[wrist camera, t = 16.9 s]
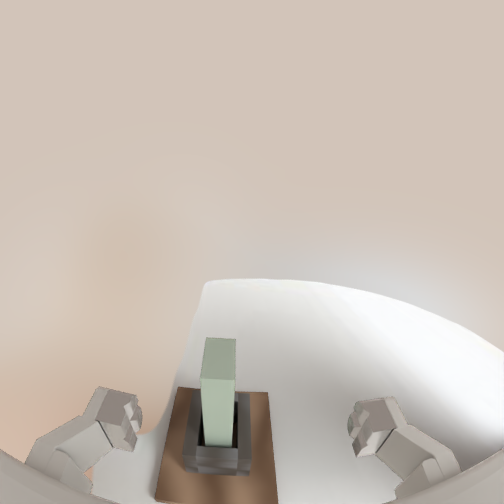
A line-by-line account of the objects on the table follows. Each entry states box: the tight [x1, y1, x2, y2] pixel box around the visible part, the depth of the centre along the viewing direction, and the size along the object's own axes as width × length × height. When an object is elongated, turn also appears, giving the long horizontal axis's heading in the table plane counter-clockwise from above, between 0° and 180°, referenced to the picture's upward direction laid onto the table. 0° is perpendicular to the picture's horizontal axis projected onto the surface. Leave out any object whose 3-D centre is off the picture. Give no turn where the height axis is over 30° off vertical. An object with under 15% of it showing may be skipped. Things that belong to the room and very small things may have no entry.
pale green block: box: [200, 337, 236, 448], centre depth 28 cm, size 3×6×16 cm, turn 2°
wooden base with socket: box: [155, 387, 278, 504], centre depth 30 cm, size 14×20×6 cm
